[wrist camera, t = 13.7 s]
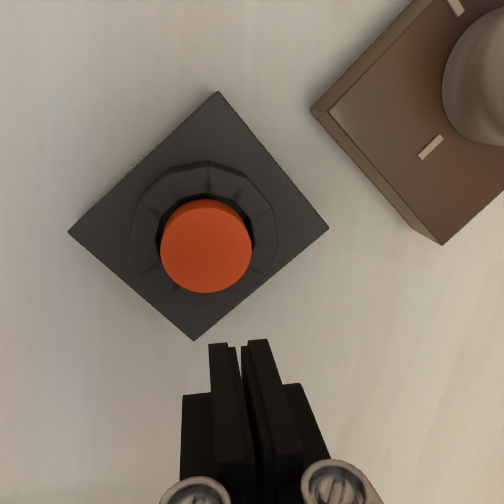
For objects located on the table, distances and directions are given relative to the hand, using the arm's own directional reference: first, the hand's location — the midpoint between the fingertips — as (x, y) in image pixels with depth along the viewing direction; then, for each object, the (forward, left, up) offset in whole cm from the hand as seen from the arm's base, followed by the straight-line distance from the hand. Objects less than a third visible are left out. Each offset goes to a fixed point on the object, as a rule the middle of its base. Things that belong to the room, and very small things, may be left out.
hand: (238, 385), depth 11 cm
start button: (0, +1, -9) cm, 9 cm away
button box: (0, +1, -13) cm, 13 cm away
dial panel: (+16, 0, -13) cm, 20 cm away
